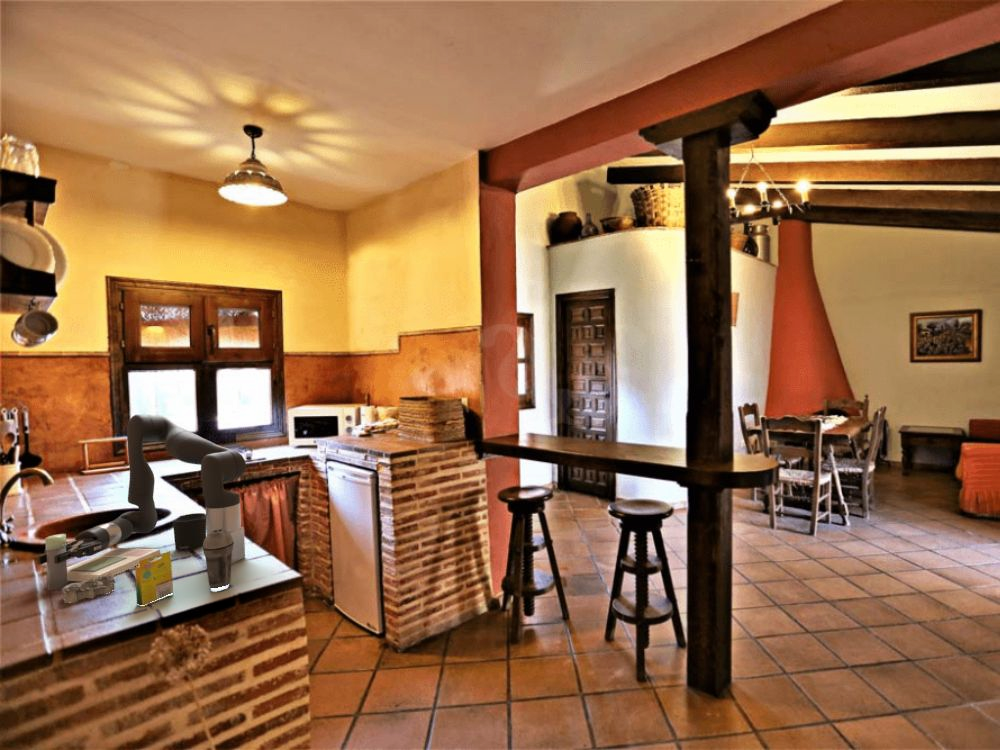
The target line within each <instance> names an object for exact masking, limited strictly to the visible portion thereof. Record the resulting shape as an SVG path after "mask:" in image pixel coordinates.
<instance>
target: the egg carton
mask: <svg viewBox="0 0 1000 750" xmlns="http://www.w3.org/2000/svg"><path fill="white" fill-rule="evenodd" d="M116 583H117V582H116V581H115V578H114V576H112V574H111V573H109V574H107V575H105V576H102V577H97V579H94V578H92V579H90V580H87V581H83V582H82V581H79V582H72V583H69V584H68V585H67V586H65V587H64V588H62V589H61V591H62V594H61V595H62V600H63V601H64V604H65V603H69V602H71V603H73V604H75V603H74V602H77V601H78V600H80V601H82V600H81V599H83V600H85V599H84V598H91V599H93V598H92V597H94V596H95V597H97V596H99V595H98V594H101V595H105V594H106V593H109V592H110V591H112V590H114V589H116V588H115V587H116V586H115V585H116ZM112 592H113V591H112ZM109 594H110V593H109ZM96 595H97V596H96ZM106 595H107V594H106ZM95 597H94V598H95ZM64 599H65V600H64ZM78 602H79V601H78ZM78 602H77V603H78Z"/></svg>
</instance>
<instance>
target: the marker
mask: <svg viewBox="0 0 1000 750" xmlns="http://www.w3.org/2000/svg"><path fill="white" fill-rule="evenodd" d="M44 540H45V541H44V542H45V550H46V553H47V562H46V571H47V589H48V591H58V590H62V589H63V588H64V587H65V586H67V585H68V583H69V581H67V567H68V564H67V561H68V560H65V561H63V562H61V563H59V564H55V563H54V557H55V556H56V555H58V554H60V553H63V552H65V551H66V543H67V534H66V533H59V534H53V535H49V536H47V537H45V539H44Z"/></svg>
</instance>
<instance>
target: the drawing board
mask: <svg viewBox="0 0 1000 750" xmlns="http://www.w3.org/2000/svg"><path fill="white" fill-rule="evenodd" d="M159 554H161V549H159V548H137V547H136V548H133V547H131V548H130V547H116V548H114V549H111V550H109V551H105V552H103V553H100V554H98V555H95V556H93V557H90V558H87V559H85V560H81V561H80V562H76V563H74V564H72V565H70V566H67V582H83V581H87V580H90V579H92V578H94V579H97V577H102V576H105V575H107V574H109V573H111V574H112V576H113V577H115V576H117V575H120V574H121V572H122V573H124V572H126V570H127V571H129V570H131V569H134V568H135V566H137V565H138V566H139V564H140V562H139V561H141V560H144V559H147V558H150V557H153V556H156V555H159ZM128 569H129V570H128ZM119 573H120V574H119ZM116 574H117V575H116ZM114 575H115V576H114Z"/></svg>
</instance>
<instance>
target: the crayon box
mask: <svg viewBox="0 0 1000 750" xmlns="http://www.w3.org/2000/svg"><path fill="white" fill-rule="evenodd" d="M155 557H156V558H157V559H156V558H155ZM171 557H172V555H171V551H166V552H163V553H160V554H159V555H156V556H153V557H150V558H147V559H144V560H141V561H139V562H140V565H138V566H136V567H134V571H135V572H134V576H135V589H136V590H135V591H136V593H135V594H136V605H137V604H139V605H145V604H147V603H150V602H152V601H155V600H157V599H159V598H162V597H164V596H166V595H168V594H171V593H173V594H174V584H173V570H172V558H171Z"/></svg>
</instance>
